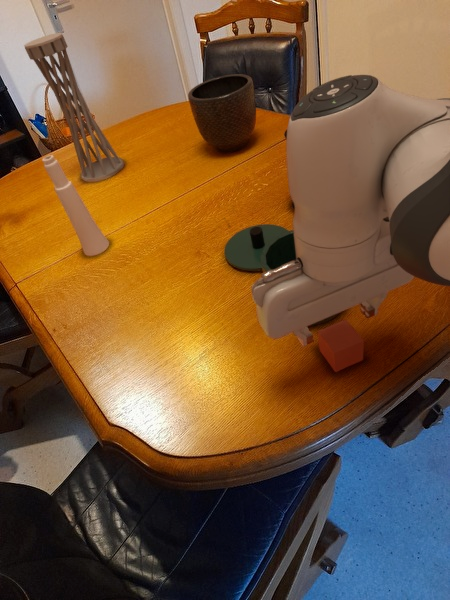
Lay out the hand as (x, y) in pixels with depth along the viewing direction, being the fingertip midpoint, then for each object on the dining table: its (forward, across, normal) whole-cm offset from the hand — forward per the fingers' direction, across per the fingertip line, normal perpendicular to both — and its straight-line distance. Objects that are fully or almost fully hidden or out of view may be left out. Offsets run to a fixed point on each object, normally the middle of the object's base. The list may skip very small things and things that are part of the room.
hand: (337, 327), depth 54 cm
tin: (+6, +2, +13) cm, 14 cm away
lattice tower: (+7, -24, +94) cm, 97 cm away
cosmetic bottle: (+7, -30, +52) cm, 61 cm away
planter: (+7, +13, +78) cm, 79 cm away
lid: (+6, 0, +29) cm, 30 cm away
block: (+6, 0, 0) cm, 6 cm away
